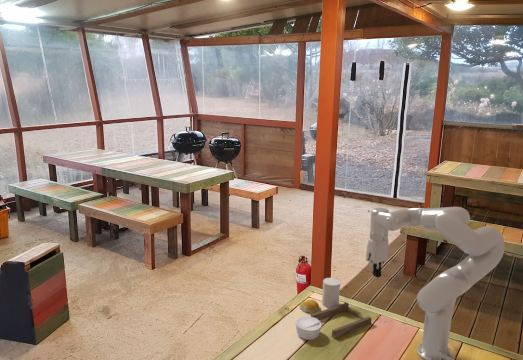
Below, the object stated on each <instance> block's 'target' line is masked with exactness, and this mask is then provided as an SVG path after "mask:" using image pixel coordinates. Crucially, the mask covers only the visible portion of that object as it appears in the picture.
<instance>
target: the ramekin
mask: <svg viewBox="0 0 523 360" xmlns="http://www.w3.org/2000/svg"><path fill="white" fill-rule="evenodd" d="M295 328H296V334H297V335H298V337H300V338H301V339H303V340H310V341H311V340H315V339H316V338H318V337H319V335H320V332H321V330H322V322H321V321H320V320H318V319H316V318H314V317H311V315H310V316H309V315H308V316H306V315H305V316H300V317H298V318H296V320H295Z"/></svg>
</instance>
